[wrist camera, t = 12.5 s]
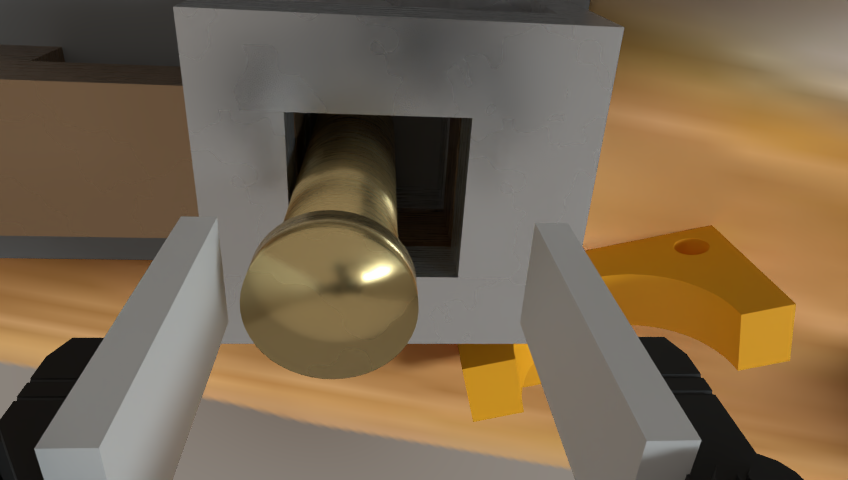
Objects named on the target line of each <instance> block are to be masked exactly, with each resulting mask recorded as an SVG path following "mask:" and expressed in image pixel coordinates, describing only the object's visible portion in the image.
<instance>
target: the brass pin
mask: <svg viewBox="0 0 848 480" xmlns="http://www.w3.org/2000/svg"><path fill="white" fill-rule="evenodd" d="M418 311H419V306H418V291H417V279H416V272H415V267H414V264H413V261H412V259H411V257H410V255H409V253H408V251H407V249H406V248H405V246H404V245H403V244H402V242H401V241H400V240H399V239H398V229H397V199H396V168H395V138H394V124H393V120H392V117H391V115H361V114H330V113H319V114H318V116H317V119H316V122H315V126H314V129H313V132H312V135H311V138H310V141H309V144H308V147H307V150H306V153H305V157H304V160H303V163H302V166H301V169H300V172H299V175H298V178H297V181H296V184H295V188H294V191H293V194H292V197H291V200H290V203H289V206H288V209H287V212H286V215H285V219H284V222H283V223H281V224H280V225H278V226H277V227H275V228H274V229H273V230H272V231H271V232H269V233H268V234H267V236H266V237H265V238H264V239H263V240H262V241H261V243H260V244H259V246H258V247H257V249H256V251H255V253H254V255H253V257H252V260H251V263H250V265H249V268H248V271H247V273H246V276H245V279H244V281H243V285H242V288H241V293H240V313H241V317H242V321H243V324H244V327H245V329H246V331H247V333H248V335H249V337H250V338H251V340H252V341H253V342H254V344H255V345H256V346H257V347H258V348H259V349H260V351H261V352H262V353H263V354H265V355H266V356H267V357H268V358H270V359H271V360H272V361H274V362H275V363H277V364H278V365H280V366H282V367H284V368H286V369H288V370H290V371H293V372H295V373H298V374H301V375H305V376H309V377H314V378H321V379H343V378H350V377H356V376H359V375H363V374H366V373H369V372H371V371H374V370H376V369H378V368H380V367H382V366H383V365H385V364H386V363H388V362H389V361H391V360H392V359H393V358H394V357H396V356H397V355H398V354H399V353H400V352H401V351H402V349H403V348H404V347H405V346H406V345H407V343H408V341H409V340H410V338H411V337H412V334H413V332H414V330H415V327H416V323H417V320H418Z"/></svg>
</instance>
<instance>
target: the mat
mask: <svg viewBox="0 0 848 480" xmlns="http://www.w3.org/2000/svg"><path fill="white" fill-rule="evenodd" d="M184 1H186V0H0V44H2V45H27V46H52V47H62V50H63V54H64V59H65V62H71V63H98V64H124V65H151V66H177V67H180V59H179V51H178V43H177V35H176V27H175V19H174V11H173V6H176V5H178V4H180V3H182V2H184ZM567 1H570V2H572V3H574V4H576V5H578V6H580V7H582V8H584V9H586V10H589V4H590V0H567ZM318 114H319V113H310V120H311V135H312V132H313V129H314V126H315V122H316V119H317V116H318ZM391 117H392V120H393V124H394V138H395V168H396V187H417V188H438V176H439V161H440V147H441V132H442V118H443V117H423V116H392V115H391ZM166 239H167V238H125V237H59V236H0V258H45V259H128V260H154V258H155V257H156V255H157V253H158V252H159V250H160V249H161V247H162V245H163V244H164V242H165V241H166Z"/></svg>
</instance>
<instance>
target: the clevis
mask: <svg viewBox="0 0 848 480" xmlns="http://www.w3.org/2000/svg"><path fill="white" fill-rule="evenodd" d="M173 11H174V19H175V27H176V35H177V43H178V51H179V59H180V67H177V66H151V65H124V64H98V63H71V62H65V59H64V54H63V50H62V47H52V46H27V45H2V44H0V236H59V237H125V238H168V236H169V234H170V233H171V231H172V230H173V228H174V226H175V225H176V223H177V222H178V220H179V219H180V217H181V216H188V217H217V220H218V230H219V239H220V248H221V257H222V266H223V275H224V285H225V294H226V303H227V312H228V321H229V322H228V325H227V327H226V330H225V333H224V336H223V339H222V342H221V344H254V342H253V341H252V340H251V338H250V337H249V335H248V333H247V331H246V329H245V327H244V324H243V321H242V317H241V313H240V293H241V288H242V285H243V281H244V279H245V276H246V273H247V271H248V268H249V265H250V263H251V260H252V257H253V255H254V253H255V251H256V249H257V247H258V246H259V244H260V243H261V241H262V240H263V239H264V238H265V237H266V236H267V234H268V233H269V232H271V231H272V230H273V229H274V228H275V227H277V226H278V225H280V224H281V223H283V222H284V219H285V215H286V212H287V209H288V206H289V203H290V200H291V197H292V194H293V191H294V188H295V184H296V181H297V178H298V175H299V172H300V169H301V166H302V163H303V160H304V157H305V153H306V150H307V147H308V144H309V141H310V138H311V120H310V113H330V114H361V115H392V116H423V117H443V118H442V132H441V147H440V161H439V176H438V188H417V187H396V199H397V229H398V239H399V240H400V241H401V242H402V244H403V245H404V246H405V248H406V249H407V251H408V253H409V255H410V257H411V259H412V261H413V264H414V267H415V272H416V279H417V291H418V306H419V311H418V320H417V323H416V327H415V330H414V332H413V334H412V337H411V338H410V340H409V341H408V343H407V344H527V341H526V338H525V336H524V333H523V330H522V327H521V324H520V320H521V313H522V306H523V300H524V293H525V286H526V280H527V273H528V266H529V260H530V253H531V246H532V240H533V233H534V226H535V223H568V224H569V226H570V227H571V229H572V231H573V232H574V234H575V236H576V237H577V239H578V240H579V242H580V244H581V245H583V240H584V234H585V229H586V224H587V219H588V214H589V209H590V203H591V198H592V193H593V188H594V183H595V177H596V172H597V167H598V162H599V157H600V151H601V146H602V141H603V136H604V131H605V126H606V120H607V115H608V110H609V105H610V100H611V94H612V89H613V84H614V79H615V74H616V68H617V63H618V58H619V53H620V48H621V42H622V37H623V32H624V27H622V26H620V25H618V24H616V23H614V22H612V21H610V20H608V19H606V18H603V17H601V16H599V15H597V14H595V13H593V12H591V11H589V10H586V9H584V8H582V7H580V6H578V5H576V4H574V3H572V2H570V1H567V0H186V1H184V2H182V3H180V4H178V5H176V6H173Z"/></svg>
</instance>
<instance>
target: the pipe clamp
mask: <svg viewBox="0 0 848 480" xmlns="http://www.w3.org/2000/svg"><path fill="white" fill-rule="evenodd" d="M585 252H586V253H587V255H588V257H589V258H590V260H591V262H592V263H593V265H594V266H595V268H596V270H597V271H598V273H599V274H600V276H601V278H602V279H603V281H604V283H605V284H606V286H607V287H608V289H609V291H610V292H611V294H612V296H613V297H614V299H615V300H616V302H617V304H618V305H619V307H620V309H621V310H622V312H623V313H624V315H625V317H626V318H627V320H628V322H629V323H630V325H641V326H650V327H657V328H662V329H667V330H671V331H675V332H678V333H681V334H684V335H687V336H689V337H692V338H694V339H696V340H699V341H700V342H702V343H704V344H706V345H708V346H710V347H711V348H713V349H714V350H716V351H717V352H719V353H720V354H721V355H723V356H724V357H725V358H726V359H727V360H728V361H729V362H731V363H732V364H733V366H734V367H735V368H736V369H737V370H738V371H739V370H744V369H749V368H755V367H760V366H765V365H770V364H775V363H780V362H786V361H790V354H791V345H792V335H793V326H794V317H795V308H796V304H795V303H794V302H793V301H792V300H791V299H790V298H789V297H788V296H787V295H786V294H785V293H784V292H783V291H781V290H780V289H779V288H778V287H777V286H776V285H775V284H774V283H773V282H772V281H771V280H770V279H769V278H768V277H767V276H765V275H764V274H763V273H762V272H761V271H760V270H759V269H758V268H757V267H756V266H755V265H754V264H753V263H752V262H751V261H749V260H748V259H747V258H746V257H745V256H744V255H743V254H742V253H741V252H740V251H739V250H738V249H737V248H736V247H734V246H733V245H732V244H731V243H730V242H729V241H728V240H727V239H726V238H725V237H724V236H723V235H722V234H721V233H720V232H718V231H717V230H716V229H715V228H714V227H713V226H712V225H711V226H706V227H701V228H696V229H691V230H686V231H681V232H676V233H671V234H666V235H661V236H656V237H651V238H646V239H641V240H636V241H631V242H626V243H621V244H616V245H611V246H606V247H601V248H596V249H591V250H586V251H585ZM458 349H459V354H460V360H461V365H462V370H463V375H464V380H465V385H466V389H467V394H468V399H469V404H470V409H471V413H472V418H473V422H475V421H480V420H486V419H491V418H496V417H501V416H506V415H511V414H517V413H522V412H524V410H523V404H522V387H528V386H533V385H538V384H541V381H540V378H539V375H538V373H537V370H536V367H535V364H534V361H533V358H532V356H531V353H530V350H529V347H528V344H458Z"/></svg>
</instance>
